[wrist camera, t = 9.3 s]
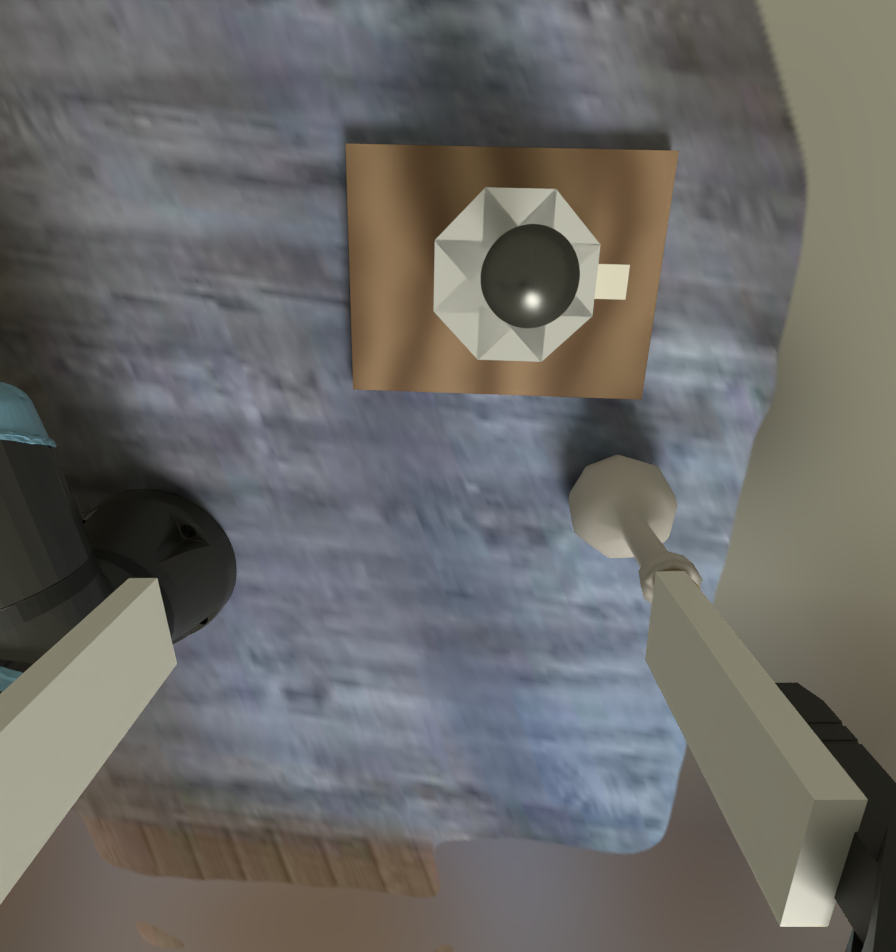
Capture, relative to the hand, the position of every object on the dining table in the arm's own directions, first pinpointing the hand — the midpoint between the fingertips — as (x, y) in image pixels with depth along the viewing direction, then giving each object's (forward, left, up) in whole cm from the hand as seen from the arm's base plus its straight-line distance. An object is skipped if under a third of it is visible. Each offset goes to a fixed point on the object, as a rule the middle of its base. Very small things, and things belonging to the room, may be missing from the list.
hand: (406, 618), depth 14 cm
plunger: (+4, +9, -31) cm, 33 cm away
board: (+4, +9, -34) cm, 36 cm away
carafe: (+5, +9, -33) cm, 34 cm away
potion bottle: (+15, -9, -35) cm, 39 cm away
